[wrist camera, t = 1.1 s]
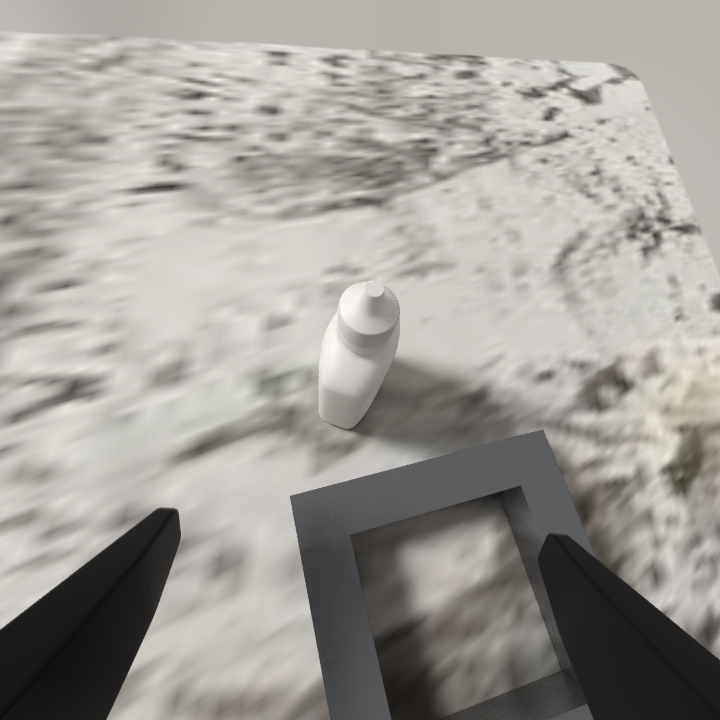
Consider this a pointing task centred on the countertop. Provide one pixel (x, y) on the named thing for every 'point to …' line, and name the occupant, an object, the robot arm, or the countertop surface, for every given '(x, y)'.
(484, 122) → the countertop surface
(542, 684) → the hollow square frame
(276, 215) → the countertop surface
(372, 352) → the eye dropper bottle
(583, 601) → the robot arm
